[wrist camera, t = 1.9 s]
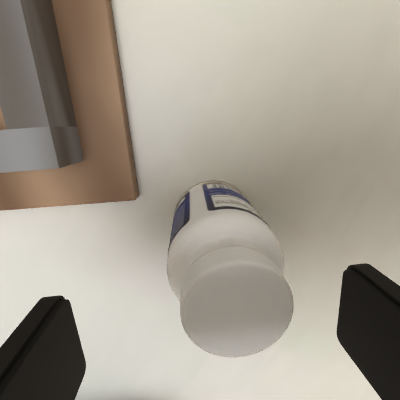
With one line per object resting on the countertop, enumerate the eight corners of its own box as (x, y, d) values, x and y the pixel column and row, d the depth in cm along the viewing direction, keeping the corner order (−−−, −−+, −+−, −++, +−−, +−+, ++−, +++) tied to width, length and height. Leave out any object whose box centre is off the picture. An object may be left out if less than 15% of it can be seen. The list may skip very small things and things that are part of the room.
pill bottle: (197, 262, 19) (205, 394, 9) (160, 203, 17) (126, 290, 8) (261, 229, 18) (336, 335, 9) (228, 165, 17) (277, 213, 8)
